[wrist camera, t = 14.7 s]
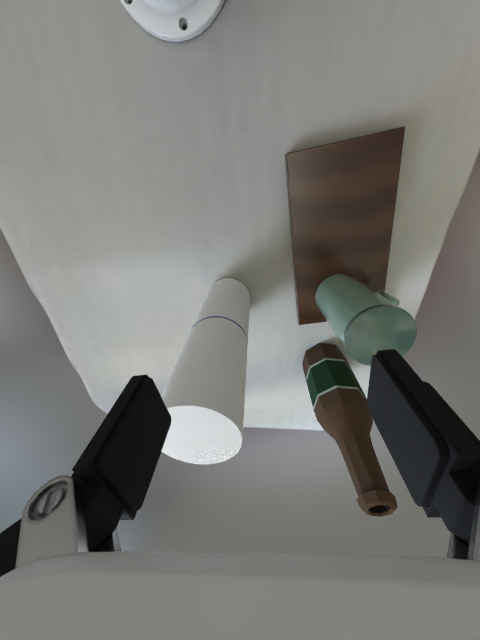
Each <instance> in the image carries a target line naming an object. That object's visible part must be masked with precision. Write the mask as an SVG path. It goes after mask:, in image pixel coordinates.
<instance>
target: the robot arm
mask: <svg viewBox="0 0 480 640" xmlns="http://www.w3.org/2000/svg"><path fill="white" fill-rule="evenodd" d="M120 1H121V3H122V4H123V6H124V7H125V9H126V10H127V12H128V13H129V14H130V15H131V17H132V18H133V19H134V20H135V21H136V22H137V23H138V24H139V25H140V26H141V27H142V28H143V29H144V30H145V31H147V32H148V33H150V34H152V35H153V36H155V37H157V38H159V39H162V40H166V41H171V42H181V41H185V40H190V39H192V38H194V37H196V36H197V35H199V34H201V33H202V32H203V31H204V30H205V29H206V28H207V27H209V26H210V25H211V23H212V22H213V21H214V19H215V18H216V16H217V15H218V14H219V12H220V10H221V8H222V6H223V4H224V2H225V0H132V3H131V4H130V1H131V0H120ZM184 26H187V29H186V30H183V28H184ZM367 406H368V409H369V412H370V414H371V416H372V418H373V420H374V422H375V424H376V426H377V428H378V430H379V432H380V434H381V436H382V438H383V440H384V442H385V444H386V446H387V448H388V450H389V452H390V454H391V455H392V458H393V460H394V462H395V464H396V466H397V468H398V470H399V472H400V474H401V476H402V478H403V480H404V482H405V484H406V486H407V488H408V490H409V492H410V494H411V496H412V498H413V500H414V502H415V503H416V504H417V505H418V506H422V507H423V509H424V511H425V513H426V515H427V517H441V518H442V520H443V521H444V523H445V525H446V527H447V529H448V530H449V531H450V532H451V535H450V540H449V547H448V552H447V558H440V557H438V558H437V557H414V556H389V555H388V556H387V555H347V554H294V553H222V552H121V548H120V544H119V538H118V533H117V528H116V527H117V525H118V522H119V520H133V519H134V518H135V515H136V512H137V510H139V509H140V508H141V506H142V504H143V502H144V499H145V496H146V493H147V490H148V487H149V485H150V482H151V479H152V476H153V473H154V471H155V467H156V465H157V462H158V459H159V457H160V454H161V451H162V448H163V445H164V443H165V440H166V437H167V434H168V431H169V428H170V426H171V416H170V414H169V412H168V410H167V408H166V406H165V404H164V402H163V399H162V397H161V395H160V393H159V391H158V389H157V387H156V385H155V383H154V381H153V380H152V378H149V377H148V376H147V375H139V376H133V377H132V378H131V379H130V381H129V382H128V384H127V385H126V387H125V388H124V390H123V392H122V393H121V395H120V396H119V398H118V399H117V401H116V402H115V404H114V406H113V407H112V409H111V410H110V412H109V413H108V415H107V416H106V418H105V419H104V421H103V423H102V424H101V426H100V427H99V429H98V430H97V432H96V434H95V435H94V436H93V438H92V440H91V441H90V443H89V444H88V446H87V447H86V449H85V450H84V452H83V454H82V455H81V457H80V458H79V460H78V461H77V463H76V464H75V466H74V467H73V469H72V470H73V471H74V473H73V474H72V476H71V477H70V476H66V475H62V476H58V477H56V478H54V479H52V480H50V481H48V482H47V483H46V484H44V485H43V486H42V487H41V488H40V489H39V490H38V491H37V492H36V493H34V495H33V496H32V497H31V499H30V500H29V501H28V503H27V505H26V507H25V509H24V511H23V514H22V518H21V519H20V520H18V521H17V522H15V523H14V524H13V525H11V526H10V527H9V528H7V529H6V530H4V531H3V532H2V533H1V534H0V640H480V441H479V440H478V438H477V437H476V436H475V435H474V434H473V433H472V431H471V430H470V429H469V428H468V427H467V426H466V425H465V423H464V422H463V421H462V420H461V419H460V418H459V417H458V415H457V414H456V413H455V412H454V411H453V410H452V409H451V408H450V406H449V405H448V404H447V403H446V402H445V401H444V400H443V398H442V397H441V396H440V395H439V394H438V393H437V391H436V390H435V389H434V388H433V387H432V386H431V385H430V384H429V383H427V382H423V381H422V380H421V379H420V378H419V376H418V375H417V374H416V373H415V372H414V370H413V369H412V368H411V367H410V366H409V364H408V363H407V362H406V361H405V360H404V359H403V357H402V356H401V355H400V354H399V353H398V351H397V350H395V349H389V350H379V351H377V353H376V355H373V356H372V361H371V370H370V379H369V388H368V397H367Z"/></svg>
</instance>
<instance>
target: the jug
mask: <svg viewBox="0 0 480 640" xmlns="http://www.w3.org/2000/svg"><path fill="white" fill-rule="evenodd" d="M315 299H316V304H317V306H318V308H319V309H320V311H321V312H322V314H323V315H324V317H325V318H326V320H327V321H328V323H329V324H330V326H331V327H332V329H333V331H334V332H335V334H336V335H337V337H338V338H339V340H340V341H341V343H342V344H343V346H344V347H345V349H346V350H347V352H348V354H349V355H350V356H351V357H352V358H353V359H354V360H356V361H357V362H359V363H361V364H365V365H370V366H371V361H372V356H373V355H376V353H377V351H379V350H389V349H395V350H397V351H398V353H399V354H400V355H401V356H403V355H404V354H405V353H407V351H408V350H409V349H410V348H411V346H412V345H413V343H414V341H415V338H416V331H417V330H416V324H415V321H414V319H413V318H412V316H411V315H410V314H409V313H408V312H406V311H405V310H403V309H402V308H400V307H399V306H398V305H399V301H398V300H397V299H396V298H394V297H392V296H390V295H389V294H387V293H385V292H384V291H379V292H375V291H373V290H372V289H370V288H369V287H367V286H365V285H364V284H362V283H361V282H359V281H358V280H356V279H354V278H353V277H351V276H349V275H346V274H336V275H332V276H330V277H328V278H326V279H325V280H324V281H323V282H322V283H321V284H320V285H319V287H318V289H317V291H316V295H315Z"/></svg>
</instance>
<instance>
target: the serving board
mask: <svg viewBox="0 0 480 640" xmlns="http://www.w3.org/2000/svg"><path fill="white" fill-rule="evenodd" d="M404 131H405V127H400V128H396V129H392V130H387V131H383V132H378V133H374V134H370V135H365V136H361V137H357V138H352V139H348V140H344V141H339V142H335V143H331V144H326V145H322V146H318V147H313V148H309V149H305V150H300V151H296V152H292V153H287V154H286V155H285V159H286V173H287V186H288V199H289V212H290V225H291V238H292V252H293V265H294V278H295V291H296V304H297V317H298V323H299V325H302V324H310V323H318V322H326V321H327V320H326V318H325V317H324V315H323V314H322V312H321V311H320V309H319V308H318V306H317V304H316V299H315V295H316V291H317V289H318V287H319V285H320V284H321V283H322V282H323V281H324V280H325V279H326V278H328V277H330V276H332V275H336V274H346V275H349V276H351V277H353V278H354V279H356V280H358V281H359V282H361V283H362V284H364V285H365V286H367V287H369V288H370V289H372V290H373V291H375V292H379V291H385V283H386V275H387V267H388V259H389V251H390V243H391V235H392V227H393V219H394V211H395V203H396V195H397V187H398V179H399V171H400V163H401V155H402V147H403V139H404Z"/></svg>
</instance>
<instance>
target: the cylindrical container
mask: <svg viewBox="0 0 480 640" xmlns="http://www.w3.org/2000/svg"><path fill="white" fill-rule="evenodd" d="M249 308H250V295H249V292H248V289H247V288H246V286H245V285H244V284H243V283H241V282H240V281H238V280H235V279H231V278H225V279H221V280H218V281H216V282H215V283H214V284H213V285H212V286H211V287H210V289H209V291H208V293H207V295H206V298H205V300H204V302H203V304H202V307H201V309H200V311H199V313H198V315H197V318H196V320H195V322H194V324H193V326H192V329H191V331H190V333H189V335H188V338H187V340H186V342H185V344H184V347H183V349H182V351H181V353H180V356H179V358H178V360H177V362H176V365H175V367H174V369H173V371H172V373H171V376H170V378H169V380H168V382H167V384H166V387H165V389H164V391H163V393H162V395H161V397H162V399H163V402H164V404H165V406H166V408H167V410H168V412H169V414H170V416H171V426H170V428H169V431H168V434H167V437H166V440H165V443H164V445H163V448H162V452H163V453H165V454H167V455H169V456H170V457H172V458H175V459H178V460H180V461H184V462H187V463H193V464H213V463H219V462H222V461H225V460H228V459H229V458H231V457H233V456H234V455H235V454H236V453H237V452H238V451H239V449H240V448H241V445H242V434H243V416H244V398H245V380H246V362H247V344H248V326H249Z"/></svg>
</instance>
